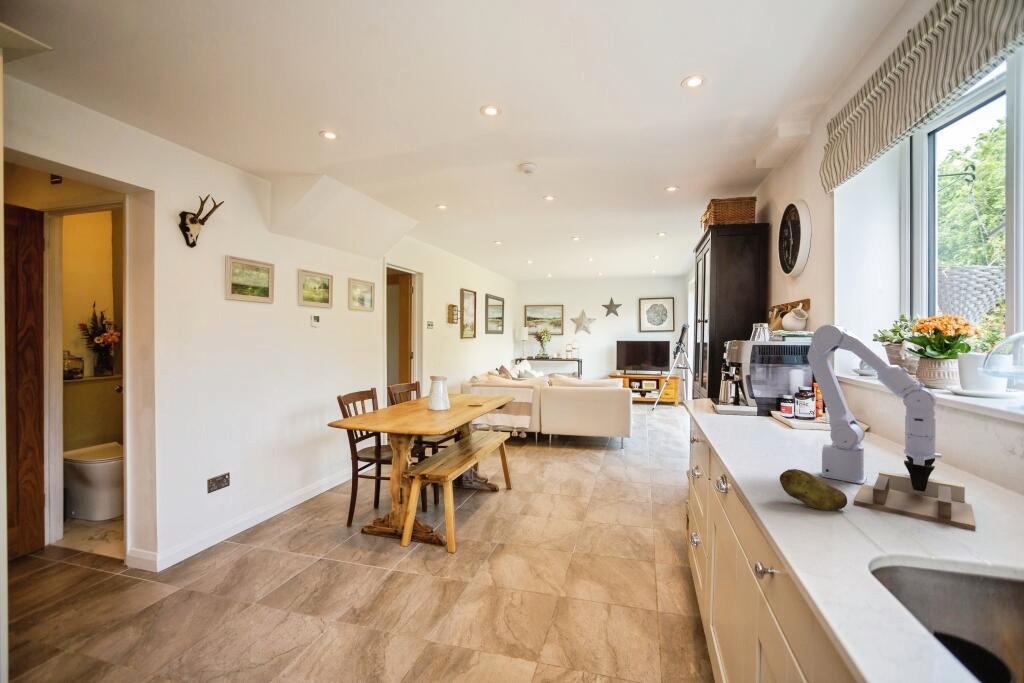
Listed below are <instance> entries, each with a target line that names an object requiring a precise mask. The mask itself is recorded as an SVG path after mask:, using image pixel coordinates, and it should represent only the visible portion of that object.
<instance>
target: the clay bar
mask: <svg viewBox="0 0 1024 683" xmlns="http://www.w3.org/2000/svg"><path fill="white" fill-rule="evenodd" d="M879 475H883V476H889V489H891V490H896V491H902V492H907V493H912V494H918V495H923V496H928V497H934V498H938V490H939V485H941V486H947V487H950V489H951V501H955V502H961V503H965V499H966V498H965V496H966V494H965V491H966V490H965V489H966V486H965V484H964V483H958V482H952V481H947V480H939V479H935V478H930V477H929V478H928V482H927V487H926V490H925V492H922V491H917V490H914V489H913V487H912V483H911V478H910V474H903V473H899V472H891V471H886V470H879V471H878V476H879Z"/></svg>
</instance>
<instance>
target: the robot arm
mask: <svg viewBox="0 0 1024 683" xmlns="http://www.w3.org/2000/svg"><path fill="white" fill-rule="evenodd" d="M810 338H811V340H810V341H811V342H810V345H809V349H808V352H807V355H806V356H807V361H808V364H809V366H810V368H811V371H812V373H813V377H814V380H815V382H816V385H817V387H818V390H819V392H820V395H821V397H822V400H823V403H824V406H825V407H826V410H827V412H828V415H829V416H828V417H829V418H828V419H829V421H828V422H829V426H830V436H829V437H830V440H831V441H832V443H831V444H826V443H825V444H823V446H822V449H821V450H822V451H821V477H823V478H827V479H828V478H829V479H834V480H839V481H844V482H849V483H855V484H861V485H862V484H864V485H865V482H866V480H867V478H868V476H867V475H865V474H864V467H865V466H864V465H865V464H864V462H865V461H864V460H865V459H864V458H865V456H864V455H865V454H864V453H865V450H864V449H865V447H864V446H863V445H862V443H861V442H862V441H863V440H864V439H865V437H866V436H865V435H866V433H865V429H864V428H863V427H862V425H860V424H859V422H857V419H856V418H855V416H854V415H853V413H852V412H851V410H850V408H849V406H848V403H847V400H846V398H845V396H844V393H843V391H842V388H841V386H840V383H839V381H838V378H837V376H836V373H835V371H834V367H833V365H832V363H831V361H830V359H831V357H832V356H833V354H834V353H835V352H836V351H837V350H838V349H839V350H840V349H841V350H844V351H848V352H852V353H853V354H854V355H855V356H857V357H858V358H859V359H860V360H862V362H864V363H866V364H867V365H868V366H869V367H871V369H873V370H875V371H876V374H877V380H878V382H881V383H882V384H883V385H884V386H885V387H886V388H887V389H888V390H890V391H891V392H892V393H893V394H895V396H897V398H900V399H901V398H902V401H903V402H902V403H903V404H904V406H905V407H906V408H905V411H906V413H905V416H904V418H905V419H904V450H903V453H904V454H905V457H906V459H907V460H904V461H903V464H904V466H905V468H906V470H907V471H908V475H910V478H911V483H912V487H913V489H914V490H917V491H922V492H925V490H926V487H927V482H928V478H929V479H930V475H931V474H932V473H933V471H934V470H935V468H936V466H935V465H933V464H934V463H935V461H936V458H939V459H941V458H942V456H943V455H942V453H938V452H936V418H935V416H936V411H935V408H934V407H935V405H936V404H937V396H936V394H935V393H934V392H933V391H932V389H931V388H927V387H925V386H926V385H925V383H923V382H918V380H917V379H916V378H914V377H913V376H912V375H910V374H909V373H908V372H909V369H907V368H906V367H905V366H904V367H901V366H900V365H897V364H889V363H887V361H886V360H884V359H883V358H882V357H881V356H880V355H878V354H877V353H876V352H875V351H874V350H873V349H871V347H869V346H868V345H867V344H866V343H865V342H864V341H863V340H862V339H861V338H859V337H858V336H857V335H855V333H853V332H851V331H848V330H847V329H846V328H845V327H843V326H841V325H834V324H824V325H821V326H819V327H818V328H817V329H816V330H815V331H814V333H813V334H812V335H811V336H810Z"/></svg>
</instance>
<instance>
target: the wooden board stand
mask: <svg viewBox="0 0 1024 683" xmlns="http://www.w3.org/2000/svg"><path fill="white" fill-rule="evenodd" d="M853 505H855V506H859V507H865V508H869V509H873V510H879V511H883V512H888V513H892V514H897V515H902V516H905V517H911V518H916V519H920V520H925V521H929V522H934V523H940V524H943V525H949V526H953V527H957V528H961V529H962V528H963V529H967V530H971V531H976V521H975V516H974V511H973V506H972V504H971V503H964V502H959V501H953V500H951V489H950V487H947V486H941V485H939V490H938V498H937V497H932V496H926V495H921V494H915V493H910V492H904V491H899V490H894V489H889V476H883V475H879V474H878V476H877V478H876V481H875V483H874V485H871V484H870V485H868V484H865V483H864V484H861V486H860V487H859V489H858V491H857V493H856V495H855V497H854V498H853Z"/></svg>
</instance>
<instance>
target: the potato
mask: <svg viewBox="0 0 1024 683" xmlns="http://www.w3.org/2000/svg"><path fill="white" fill-rule="evenodd" d="M779 482H780V485H781V487H782V489H783V491H784V492H785V493H786V494H787V495H788V496H789V497H791V498H793V499H795V500H798V501H799V502H801V503H803V504H804V505H805V506H807V507H810V508H813V509H817V510H823V511H834V510H835V511H837V510H841V509H844V508H845V507H846V506H847V504H848V498H847V495H846V493H844V492H843V491H842V490H840V489H839V488H837V487H835V486H834V485H831V484H829V483H827V482H825V481H823V480H821V479H819V478H818V477H816V476H814V475H813V474H811V473H810V472H807V471H805V470H803V469H797V468H794V469H793V468H792V469H787V470H785V471H783V472H782V473H781V474H780V475H779Z"/></svg>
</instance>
